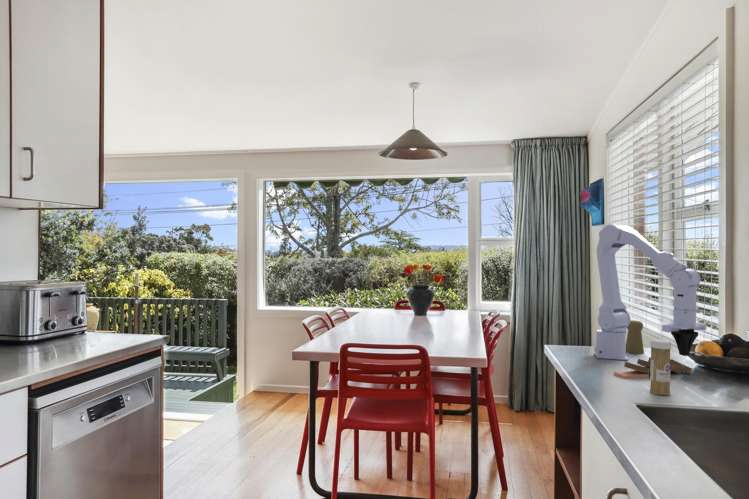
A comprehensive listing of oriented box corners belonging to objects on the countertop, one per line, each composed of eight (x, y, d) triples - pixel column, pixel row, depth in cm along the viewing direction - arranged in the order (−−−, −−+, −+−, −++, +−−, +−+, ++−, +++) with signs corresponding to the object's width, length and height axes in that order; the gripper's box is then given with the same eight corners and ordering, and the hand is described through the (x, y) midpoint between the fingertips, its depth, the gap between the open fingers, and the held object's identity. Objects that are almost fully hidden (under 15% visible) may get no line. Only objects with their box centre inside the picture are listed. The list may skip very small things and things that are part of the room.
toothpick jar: (665, 397, 124) (666, 342, 124) (646, 392, 127) (647, 339, 127) (673, 393, 126) (674, 340, 126) (654, 389, 130) (655, 337, 130)
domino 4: (680, 374, 146) (660, 365, 144) (667, 370, 150) (647, 362, 148) (682, 369, 146) (662, 360, 144) (668, 365, 151) (649, 357, 148)
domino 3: (669, 375, 145) (649, 367, 142) (656, 371, 149) (636, 363, 147) (671, 370, 145) (651, 362, 143) (657, 366, 149) (638, 358, 147)
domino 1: (657, 376, 144) (636, 370, 141) (644, 372, 148) (624, 366, 145) (658, 371, 144) (637, 365, 141) (646, 367, 148) (625, 361, 146)
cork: (647, 354, 173) (648, 322, 173) (629, 353, 173) (630, 321, 173) (638, 350, 179) (639, 319, 179) (621, 350, 179) (622, 319, 179)
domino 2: (648, 379, 143) (625, 381, 141) (636, 375, 147) (613, 377, 145) (648, 373, 143) (625, 375, 141) (636, 370, 147) (613, 371, 145)
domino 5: (690, 373, 147) (671, 364, 145) (677, 369, 152) (658, 361, 149) (692, 368, 147) (672, 359, 145) (678, 364, 152) (659, 356, 149)
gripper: (676, 311, 143) (676, 359, 143) (716, 310, 147) (715, 356, 147) (656, 308, 150) (655, 354, 150) (694, 307, 154) (694, 351, 154)
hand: (684, 355), depth 149 cm, fingers closed
